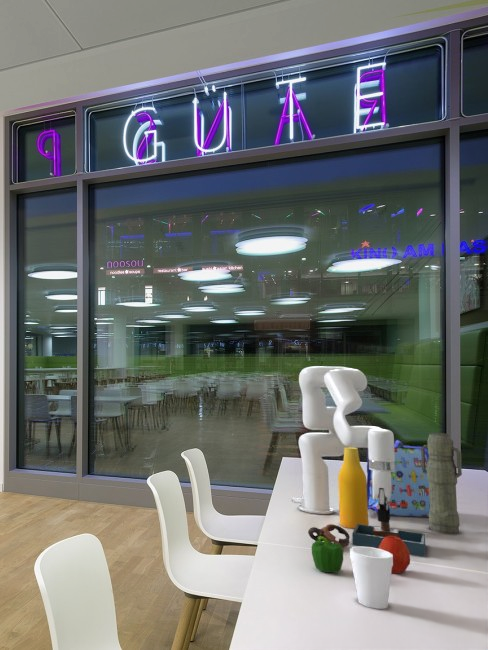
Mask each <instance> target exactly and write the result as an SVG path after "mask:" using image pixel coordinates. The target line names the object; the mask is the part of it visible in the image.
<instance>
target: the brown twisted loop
mask: <svg viewBox="0 0 488 650" xmlns="http://www.w3.org/2000/svg"><path fill="white" fill-rule="evenodd" d="M335 530H337V532H338V534H342V535H344V536H345V538H338V540H336V537H337V536H335V535H334V534H333V533H332V532H333V531H335ZM307 533H308V536H309V538H310V539H311V540H313V541H314V542H316V541H317V540H319V539H318V538H317V537H319V536H322V537H325V538H326V539H327V541H330V542H332V543H334V544H339V545H341V547H342V549H345V548H347V547H348V546H349V545H350V534H349V532H348V531H347V530H346V529H345V528H344V527H342V526H340V525H336V524H333V523H331V524H330V523H329V524H326V525H325V526H323V527H322V528H319V527H315V526H313V527H310V528H309V529H308V531H307ZM315 534H316V535H315ZM320 541H322V542H324V540H323V539H321V540H320Z"/></svg>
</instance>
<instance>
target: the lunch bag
mask: <svg viewBox="0 0 488 650" xmlns="http://www.w3.org/2000/svg"><path fill="white" fill-rule="evenodd" d="M422 447H423V446H415V445H414V446H410V445H404V444H403V442H402V441H400V440H398V439H397V440H395V441H394V454H395V472H391V498H390V501H389V508H390V516H397V517H418V518H419V517H420V518H421V517H422V518H424V517H425V518H429V510H430V494H429V482H428V480H427V474H426V473H423V470H422V454H421V448H422ZM366 452H367V453H366V454H367V457H366V459H367V461H366V474H367V475H366V480H367V503H368V510H369V509H373V510H374V511H375V513H376V514H378V497H377V499H375V500H373V487H372V473H373V470H370V469H369V455H368V448H367V451H366ZM428 458H429V454H428V448H426V447H425V471H426V470H427V463H428Z"/></svg>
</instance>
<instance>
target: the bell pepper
mask: <svg viewBox="0 0 488 650" xmlns="http://www.w3.org/2000/svg"><path fill="white" fill-rule="evenodd" d="M317 538H318V539H319V540H317V541H314V542H313V543H312V545H311V554H312V555H311V556H312V559H313V563H314V566H315V568H316V570H318V571H319V572H323V573H335V574H337V573H340V571H341V569H342V567H343V562H344V548H342V547H341V545H339V544H334V543H333V542H330V541H327V539H326V538H325V537H322V536H319V537H317ZM321 539H323V540H324V541H320V540H321Z"/></svg>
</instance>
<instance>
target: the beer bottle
mask: <svg viewBox="0 0 488 650" xmlns="http://www.w3.org/2000/svg"><path fill="white" fill-rule="evenodd" d="M358 449H359V448H353V447H347V446H346V447H345V449H344V454H343V462H342V465H341V467H340V469H339V471H338V476H337V479H338V480H337V481H338V507H339V524H340V526H341V527H342V528H346V529H352V530H354V529H355V527H356V525H357V524H361V525H368V526H370V525H369V524H370V523H369V522H370V521H369V509H368V503H367V475H366V473H365V471H364V469H363V467H362V466H361V461H360V454H359V450H358Z"/></svg>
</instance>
